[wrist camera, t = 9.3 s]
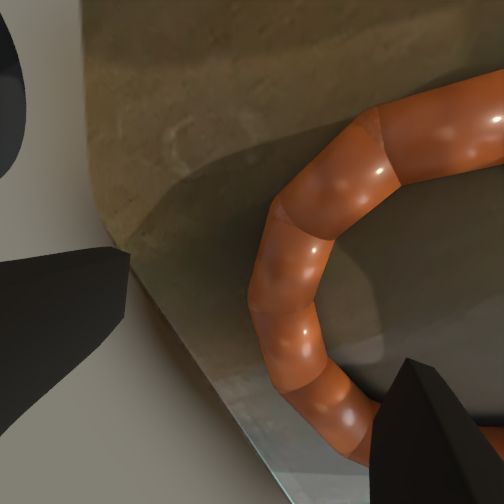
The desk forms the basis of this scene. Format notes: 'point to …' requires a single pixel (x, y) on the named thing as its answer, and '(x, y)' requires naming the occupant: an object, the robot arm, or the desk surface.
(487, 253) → the desk surface
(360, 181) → the ring
